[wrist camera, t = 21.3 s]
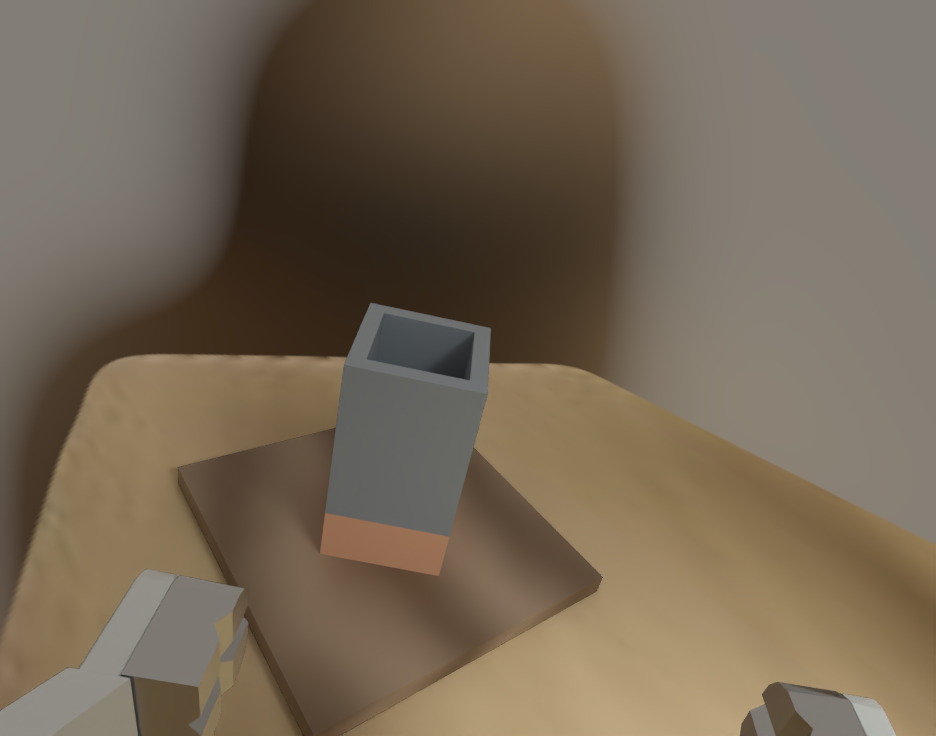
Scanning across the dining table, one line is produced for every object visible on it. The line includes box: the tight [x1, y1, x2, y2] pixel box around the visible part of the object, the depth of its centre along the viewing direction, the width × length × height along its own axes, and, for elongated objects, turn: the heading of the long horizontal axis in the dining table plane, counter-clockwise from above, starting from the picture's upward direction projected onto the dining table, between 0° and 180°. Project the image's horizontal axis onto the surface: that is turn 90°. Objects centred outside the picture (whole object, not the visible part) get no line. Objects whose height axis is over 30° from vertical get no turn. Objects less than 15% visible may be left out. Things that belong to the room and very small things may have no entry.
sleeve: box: [320, 303, 491, 576], centre depth 29 cm, size 5×5×10 cm
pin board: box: [178, 428, 603, 736], centre depth 30 cm, size 15×15×7 cm
